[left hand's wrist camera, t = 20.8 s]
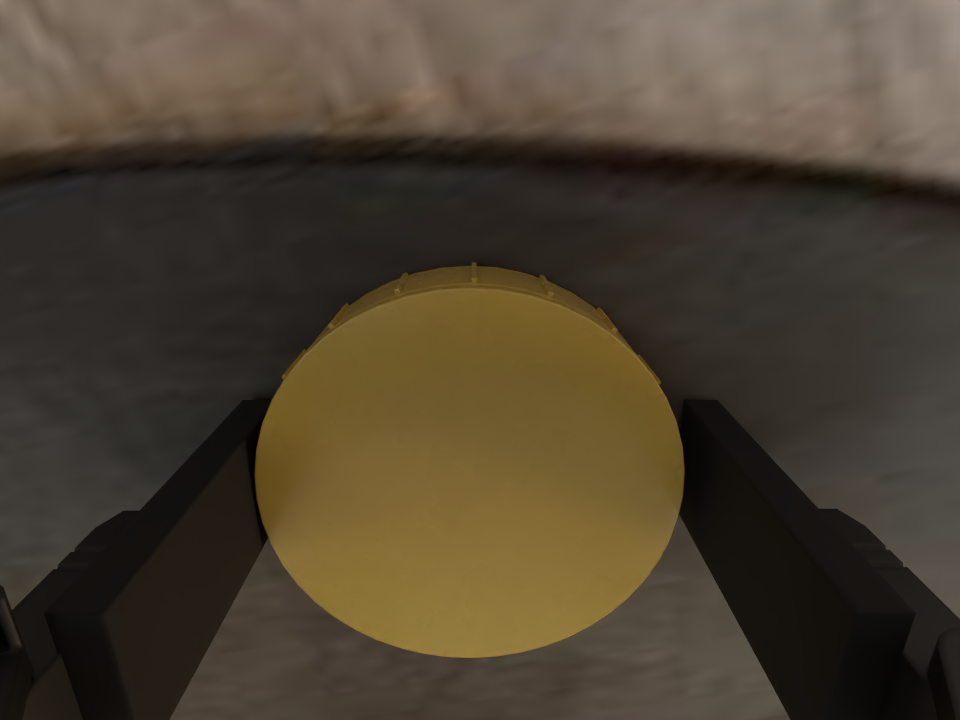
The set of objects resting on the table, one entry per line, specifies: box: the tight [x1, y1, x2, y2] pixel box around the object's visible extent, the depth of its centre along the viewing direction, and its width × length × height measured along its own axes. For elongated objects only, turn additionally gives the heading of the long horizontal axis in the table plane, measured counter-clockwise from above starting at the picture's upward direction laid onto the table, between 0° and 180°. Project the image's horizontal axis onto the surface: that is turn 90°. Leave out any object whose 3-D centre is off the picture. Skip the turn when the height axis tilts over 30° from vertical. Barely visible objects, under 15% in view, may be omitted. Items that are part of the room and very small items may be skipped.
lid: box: [254, 263, 685, 658], centre depth 13 cm, size 9×9×2 cm
